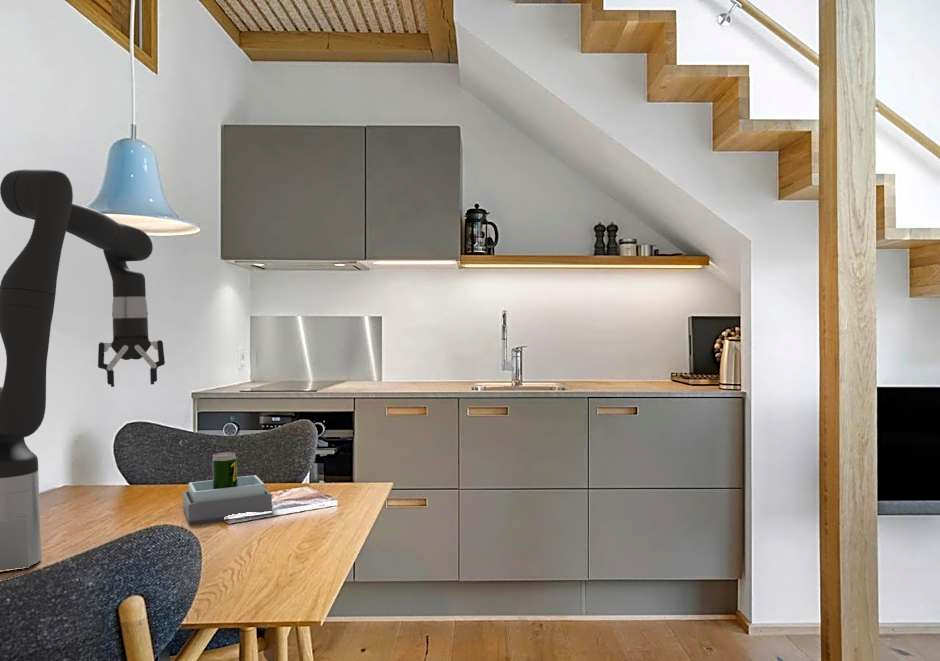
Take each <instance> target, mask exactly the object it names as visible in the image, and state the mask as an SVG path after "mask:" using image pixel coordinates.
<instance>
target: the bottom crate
mask: <svg viewBox="0 0 940 661" xmlns="http://www.w3.org/2000/svg"><path fill="white" fill-rule="evenodd" d="M272 497H273V495H272V493H271V492H270V491H269V490H268V488H266V487H265V495H257V496H249V497H241V498H233V499H225V500H217V501H209V502H201V503H193V504H191V503H190V500H189V490H187V491H182V507H183V508H182V509H183V514H184V516H185V518H186V521H187V524H188V525H189V526H193V525H199V524H205V523H206V524H207V523H213V522H219V521H220V522H221V521H225V520H224V517H225V516H228V515H232V514H238V513H246V512H264V511H272V512H273V500H272V499H273V498H272Z"/></svg>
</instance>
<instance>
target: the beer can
mask: <svg viewBox="0 0 940 661" xmlns="http://www.w3.org/2000/svg"><path fill="white" fill-rule="evenodd" d="M212 456H213V457H212V459H211V460H212V461H211V462H212V480H213V489H221V488H230V487H238V485H237V477H238V464H237V463H238V462H237V459H238V458H237V456H236V452H230V451H229V452H227V451H226V452H219V453H214V454H213V455H212Z"/></svg>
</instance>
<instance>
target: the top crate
mask: <svg viewBox="0 0 940 661" xmlns="http://www.w3.org/2000/svg"><path fill="white" fill-rule="evenodd" d="M237 485H238V487H230V488H221V489H213V479H210V480H209V479H208V480H200V481H191V482H188V491H189V500H190V503H191V504H193V503H201V502H209V501H217V500H225V499H233V498H241V497H249V496H257V495H265V488H266V487H265V483H264V482H263V481H262V479H260V478H259V477H258V476H257V475H256V474H254V475H245V476H237Z"/></svg>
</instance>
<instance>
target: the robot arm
mask: <svg viewBox="0 0 940 661" xmlns="http://www.w3.org/2000/svg"><path fill="white" fill-rule="evenodd" d="M0 198H1V201H2V204H4V206H5V208H6V209H7V210H8V211H9V212H10V213H12V214H13V215H16V216H19V217H23V218H25V219H29V220H33V221H34V222H33V223H34V224H33V228H32V231H31V234H30V237H29V239H28V242H27V243H26V245H25V246H24V248H23V249H22V250H21V251H20V253H19V254H18V255H17V257H16V258H15V259H14V261H13V262H12V263H11V264H10V266H8V269H7V270H6V271H5V273H4V274H3V277H2V279H1V281H0V336H1V339H2V342H3V347H4V350H5V355H6V367H5V373H4V381H3V386H1V387H0V570H6V569H15V568H23V567H26V568H28V567H30V566H31V565H33V564H36V563H38V562H39V561H40V562H42V560H41V559H43V558H42V538H41V537H42V536H41V535H42V534H41V512H40V511H41V510H40V488H39V487H40V481H39V479H40V478H39V460H38V456H37V454H35V453H34V452H33V451H32V450H31V449H30V448H29V447H28V444H26V442H25V441H26V440H25V438H27V437H30V436H31V435H33V434H34V433H36V432H37V430H39V428H40V426H42V423H43V421H44V418H45V414H46V407H47V404H46V403H47V365H48V354H49V346H50V337H51V329H52V328H51V327H52V322H53V316H54V310H55V302H56V301H55V300H56V295H57V285H58V284H57V282H58V275H59V268H60V262H61V261H60V260H61V256H62V250H63V245H64V241H65V237H66V233H69V234H71V235H74V236H75V237H78V238H79V239H81V240H82V241H85V242H87V243H89V244H91V245H92V246H94V247H96V248H98V249H101V250H103V255H104V258H105V260H106V263H107V264H106V265H107V266H108V270H109V273H110V276H111V277H110V278H111V280H112V296H113V298H112V306H111V309H112V311H111V315H112V316H111V317H112V337H113V338H112V341H111V342H103V341H102V342H101V341H100V342H98V349H97V350H98V352H97V360H98V361H97V368H99V369H102V370H105V372H106V377H107V378H106V379H107V381H106V382H107V384H108V385H110V387H111V388H114V387H115V371H114V370H113V369H114V368H115V366H116V365H117V364H118V362H119V361H120V360H123V361H129V360H136V361H137V360H140V359H142V358H143V359H144V361H145V362H146V363H147V364H148V365H149V366H150V368H149V377H150V385H155V382H156V383H157V381H158V371H157V370H158V368H159V367H161V366H165V364H166V362H165V352H164V350H165V349H164V343H163V341H162V340H160V339H158V340H154V341H152V340H151V341H150V339H149V323H148V322H149V319H148V318H149V317H148V315H149V312H148V304H147V298H146V296H147V294H146V293H147V292H146V278H145V275H144V274H143V273H142V272H139V271H135V270H130V268H129V266H128V264H127V262H141V261H144V260H147V259H148V258H149V257H151V254H152V253H153V250H154V249H153V242H152V241H153V240H152V239H151V238H150V236H149V235H148V234H147V233H146V232H145V231H144V230H141V229H139V228H137V227H135V226H131V225H127V224H124V223H121V222H118V221H116V220H114V219H113V218H111V217H109V216H108V215H106V214H105V213H103V212H101V211H99V210H96V209H94V208H91V207H88V206H85V205H81V204H78V203H75V202H74V201H73V200H74V193H73V186H72V183H71V180H70V178H69V177H68V176H67V174H65V173H64V172H63V171H60V170H55V169H18V170H13V171H10V172H8V173H6V174H5V176H4V177H3V178H2V180H1V182H0ZM151 346H152V347H153V349H154V350H156V351H157V361H154V360H153V359H152V358H151V357H150V356H149V355H148V353H147V352H148V350H150V348H151ZM109 348H111V349H112V350H113V351H114V353H116V354H115V355H114V357H113V358H112V359H111V360H110V362H109V364H108V363H105V353H106V352H108V351H109ZM40 562H39V563H40ZM39 563H38V564H39ZM36 565H37V564H36ZM33 566H34V565H33ZM31 567H32V566H31Z"/></svg>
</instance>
